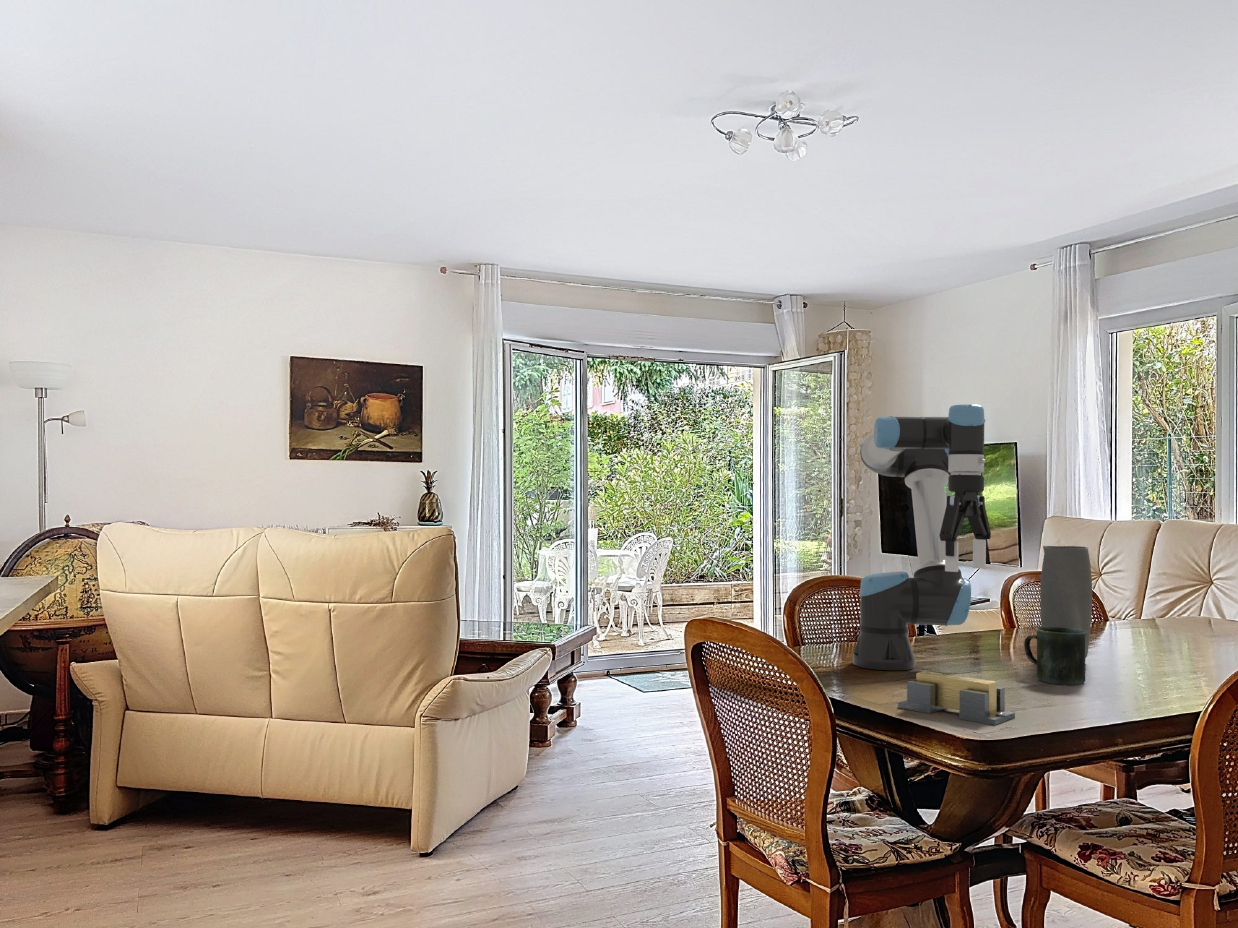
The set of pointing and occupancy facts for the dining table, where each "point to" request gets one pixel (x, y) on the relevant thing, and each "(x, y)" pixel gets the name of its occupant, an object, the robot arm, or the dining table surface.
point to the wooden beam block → (957, 689)
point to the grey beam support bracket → (983, 707)
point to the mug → (1059, 655)
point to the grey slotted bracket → (920, 697)
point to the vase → (1066, 589)
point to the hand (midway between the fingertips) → (965, 569)
